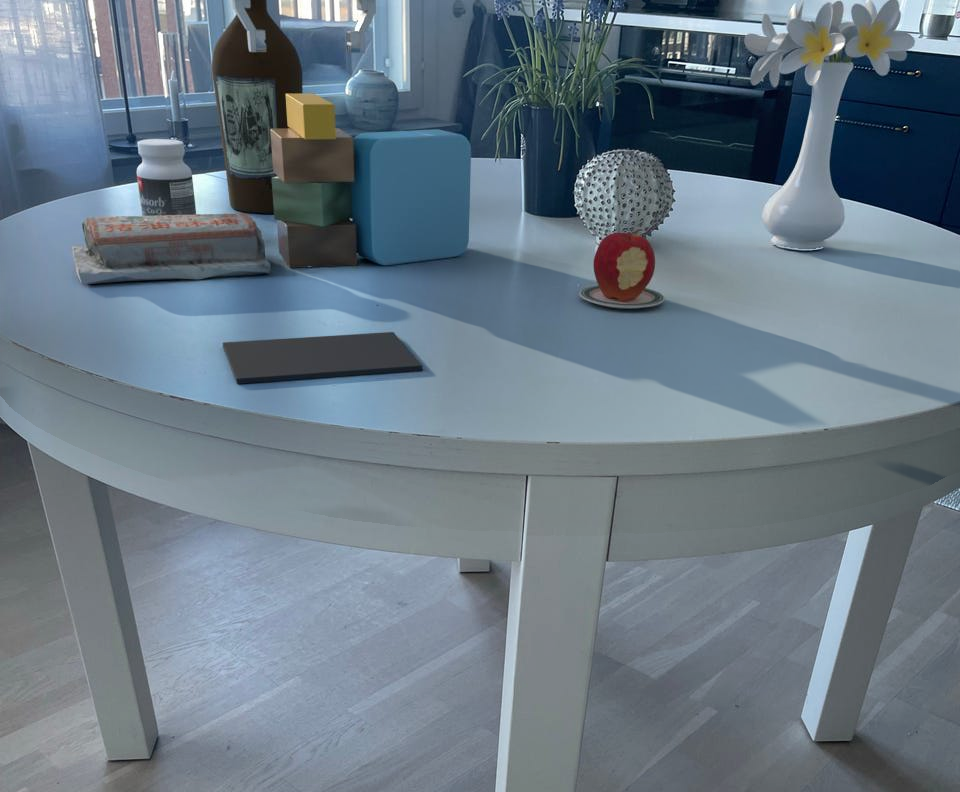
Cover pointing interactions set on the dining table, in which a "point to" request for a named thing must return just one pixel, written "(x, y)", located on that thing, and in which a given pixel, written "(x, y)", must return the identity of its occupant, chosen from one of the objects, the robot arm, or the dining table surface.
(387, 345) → the mat
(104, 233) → the packaged product
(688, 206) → the dining table surface
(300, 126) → the bar
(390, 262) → the data package
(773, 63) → the flower vase
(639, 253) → the apple
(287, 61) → the olive oil
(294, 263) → the tower
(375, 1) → the robot arm
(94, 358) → the dining table surface
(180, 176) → the pill bottle
